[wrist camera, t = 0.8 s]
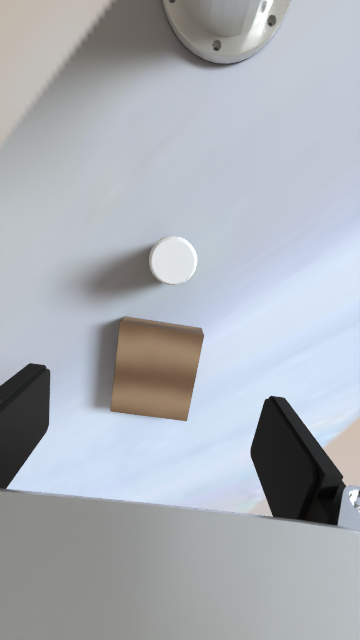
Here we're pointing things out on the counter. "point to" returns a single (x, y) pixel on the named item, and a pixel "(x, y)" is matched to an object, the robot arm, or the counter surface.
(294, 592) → the robot arm
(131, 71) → the counter surface
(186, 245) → the supplement bottle
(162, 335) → the walnut base
